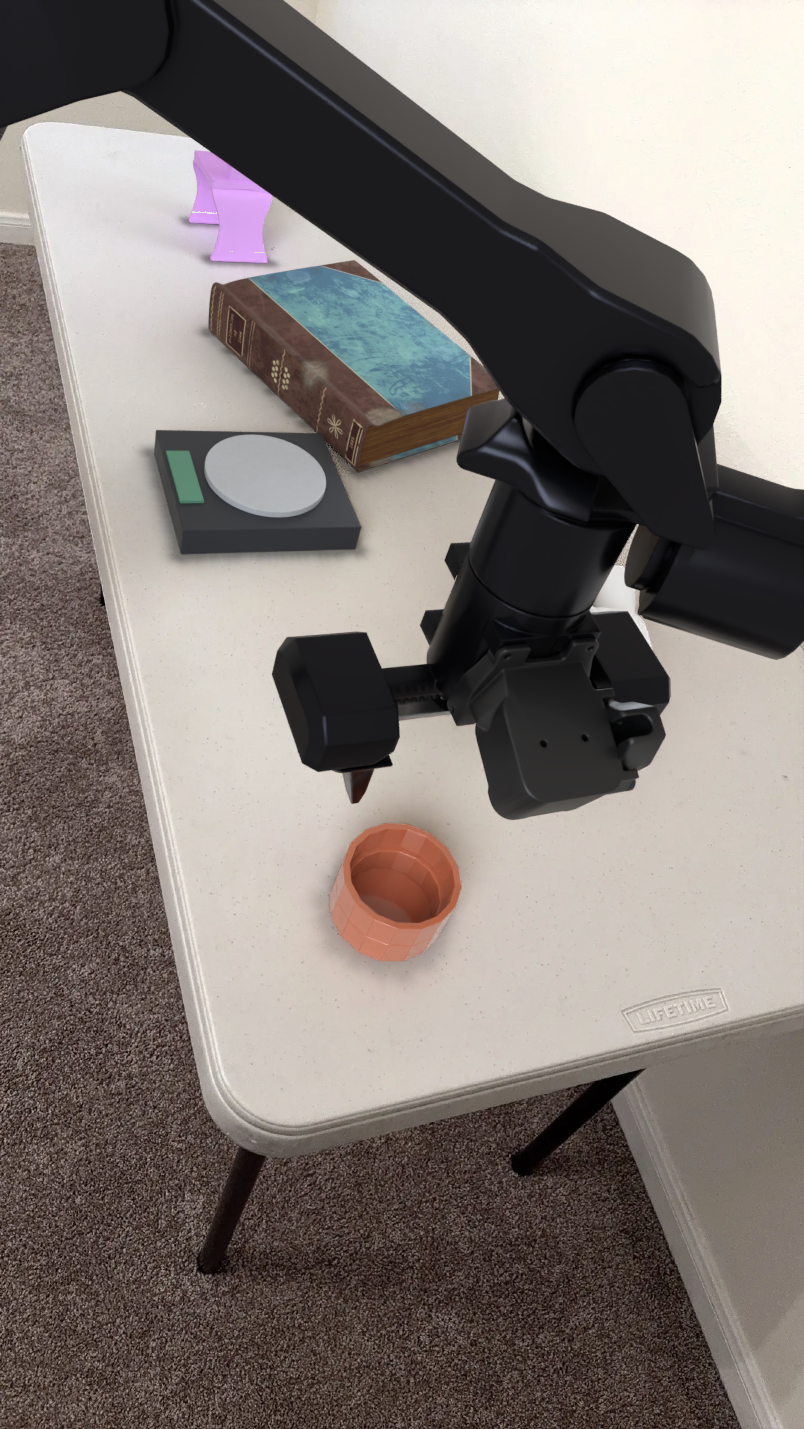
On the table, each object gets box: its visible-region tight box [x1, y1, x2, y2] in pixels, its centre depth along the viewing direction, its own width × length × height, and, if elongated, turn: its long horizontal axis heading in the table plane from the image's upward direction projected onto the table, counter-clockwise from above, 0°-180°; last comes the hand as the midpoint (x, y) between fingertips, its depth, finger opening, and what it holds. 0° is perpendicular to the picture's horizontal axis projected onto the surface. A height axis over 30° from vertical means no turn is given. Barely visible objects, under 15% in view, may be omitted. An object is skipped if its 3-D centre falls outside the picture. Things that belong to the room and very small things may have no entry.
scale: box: [153, 429, 363, 555], centre depth 78 cm, size 14×12×3 cm
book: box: [207, 259, 500, 473], centre depth 92 cm, size 23×18×5 cm
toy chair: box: [188, 149, 273, 264], centre depth 100 cm, size 8×9×15 cm
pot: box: [329, 822, 462, 962], centre depth 57 cm, size 7×7×4 cm
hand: (432, 784), depth 52 cm, fingers open, 9 cm apart
